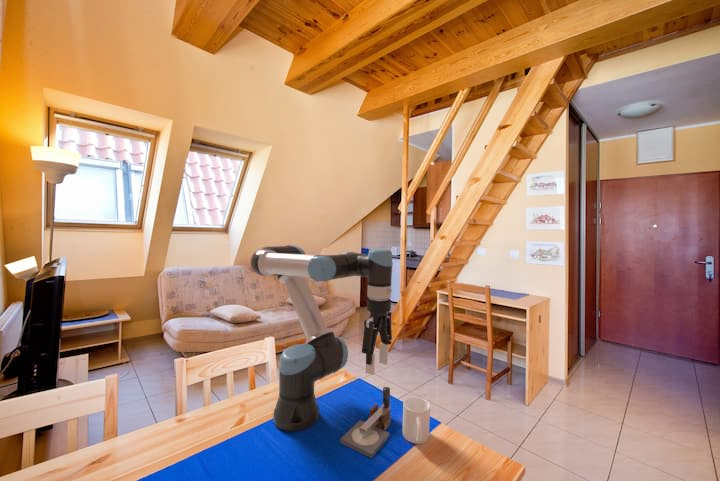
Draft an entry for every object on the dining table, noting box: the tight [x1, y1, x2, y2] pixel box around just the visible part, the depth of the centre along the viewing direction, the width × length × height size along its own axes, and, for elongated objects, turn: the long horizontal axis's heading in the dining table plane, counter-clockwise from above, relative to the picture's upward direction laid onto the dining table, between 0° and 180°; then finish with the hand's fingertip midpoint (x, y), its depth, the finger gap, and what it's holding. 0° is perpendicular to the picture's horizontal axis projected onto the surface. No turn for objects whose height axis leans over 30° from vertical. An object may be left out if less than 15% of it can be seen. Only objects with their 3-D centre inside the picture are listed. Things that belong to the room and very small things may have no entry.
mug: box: [402, 396, 431, 445], centre depth 97 cm, size 12×8×10 cm
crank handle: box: [360, 386, 392, 436], centre depth 101 cm, size 2×16×8 cm, turn 147°
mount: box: [368, 403, 391, 431], centre depth 104 cm, size 6×4×5 cm, turn 57°
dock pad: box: [339, 419, 390, 459], centre depth 96 cm, size 11×11×1 cm
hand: (376, 368), depth 100 cm, fingers open, 8 cm apart
